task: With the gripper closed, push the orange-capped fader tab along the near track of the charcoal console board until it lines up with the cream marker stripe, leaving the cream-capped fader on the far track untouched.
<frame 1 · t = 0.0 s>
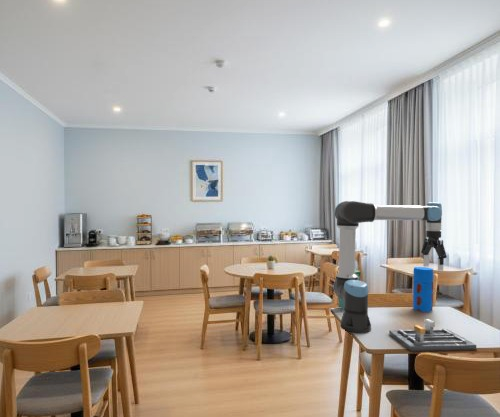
hand: (433, 268, 203), 28 cm above the table, fingers open, 13 cm apart
milk carton: (349, 308, 222), on the table
fader B: (429, 326, 173), point 5 cm above the table, slide at 2.0 cm
fader A: (419, 333, 163), point 5 cm above the table, slide at -8.0 cm
thermos: (422, 309, 221), on the table
console: (430, 341, 168), on the table
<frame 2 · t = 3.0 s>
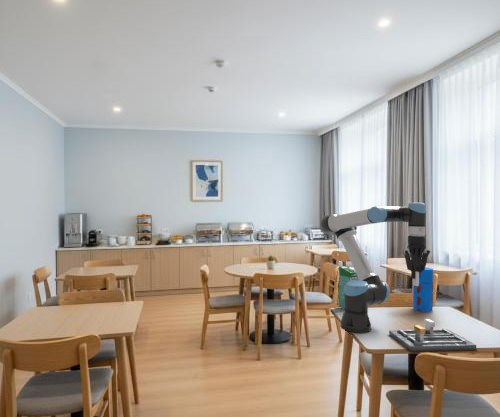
hand: (415, 285, 172), 25 cm above the table, fingers closed
nothing on the table moved.
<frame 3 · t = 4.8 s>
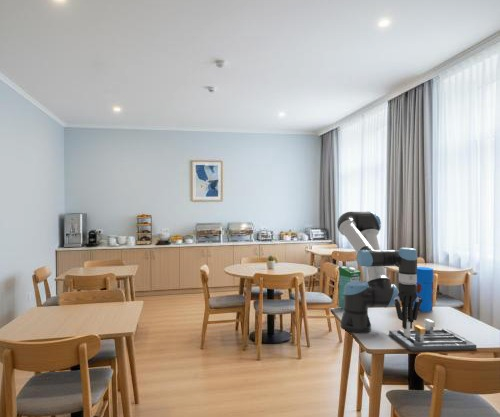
hand: (407, 335, 162), 5 cm above the table, fingers closed
nothing on the table moved.
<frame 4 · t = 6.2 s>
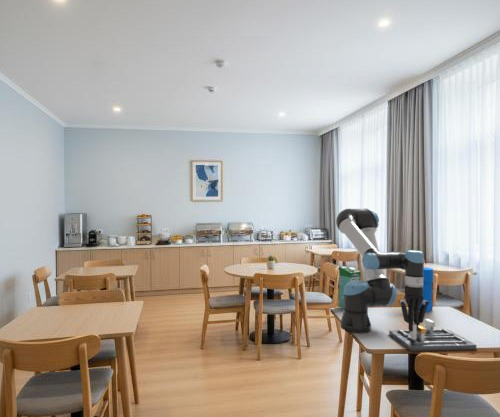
hand: (413, 338, 163), 4 cm above the table, fingers closed
fader A: (420, 333, 163), point 5 cm above the table, slide at -7.5 cm, touching gripper
everything else where it was.
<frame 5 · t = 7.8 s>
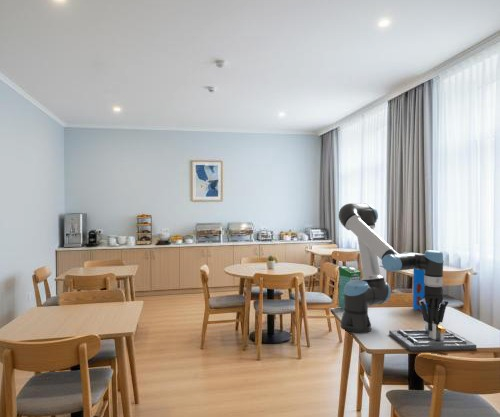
hand: (432, 337, 163), 4 cm above the table, fingers closed
fader A: (439, 333, 164), point 5 cm above the table, slide at 1.6 cm, touching gripper
everything else where it was.
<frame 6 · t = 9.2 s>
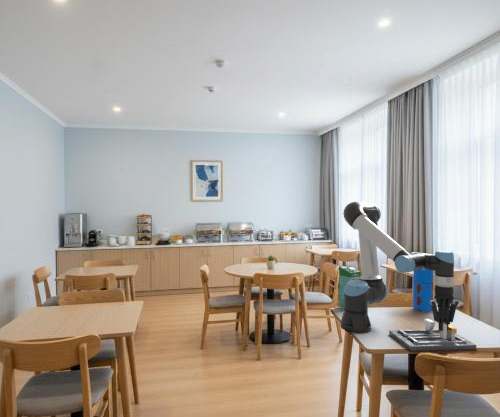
hand: (443, 337, 164), 3 cm above the table, fingers closed
fader A: (450, 333, 164), point 5 cm above the table, slide at 6.6 cm, touching gripper
everything else where it was.
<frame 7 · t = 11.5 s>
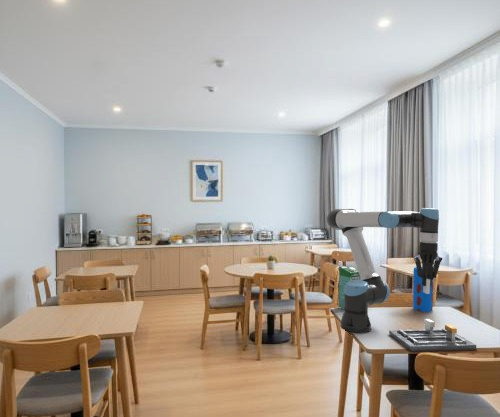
hand: (426, 293, 167), 23 cm above the table, fingers closed
fader A: (450, 333, 164), point 5 cm above the table, slide at 6.7 cm
everything else where it was.
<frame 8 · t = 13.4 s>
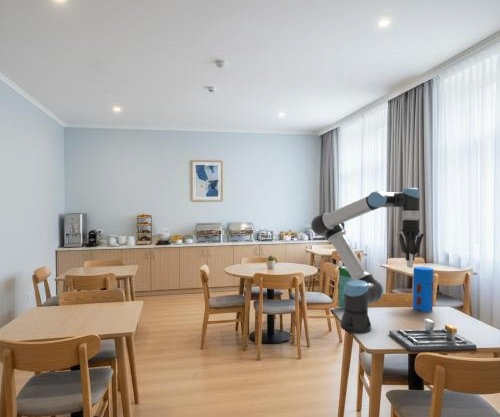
hand: (409, 267, 180), 32 cm above the table, fingers closed
nothing on the table moved.
at the end: fader A slide at 6.7 cm; fader B slide at 2.0 cm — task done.
